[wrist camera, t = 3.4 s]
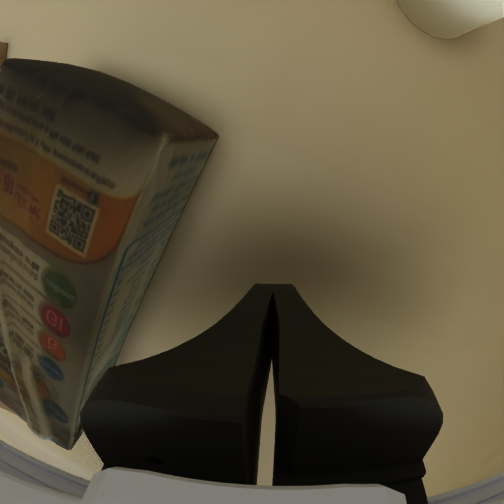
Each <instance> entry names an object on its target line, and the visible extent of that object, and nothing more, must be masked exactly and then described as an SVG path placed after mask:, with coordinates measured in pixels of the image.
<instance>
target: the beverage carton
mask: <svg viewBox="0 0 504 504" xmlns="http://www.w3.org/2000/svg"><path fill="white" fill-rule="evenodd" d="M217 139H218V135H217V134H216V133H215V132H214V131H212V130H211V129H210V128H208V127H207V126H205V125H204V124H202V123H201V122H199V121H197V120H196V119H194V118H193V117H191V116H189V115H188V114H186V113H184V112H183V111H181V110H179V109H178V108H176V107H174V106H172V105H170V104H169V103H167V102H165V101H163V100H161V99H159V98H157V97H155V96H154V95H152V94H150V93H148V92H146V91H144V90H142V89H140V88H138V87H136V86H134V85H132V84H129V83H127V82H125V81H122V80H120V79H117V78H115V77H112V76H110V75H107V74H104V73H102V72H99V71H95V70H91V69H87V68H83V67H79V66H75V65H70V64H64V63H57V62H49V61H40V60H30V59H17V58H12V59H7V60H5V61H4V62H3V63H2V66H1V71H0V401H1V402H2V403H3V404H4V405H5V406H7V407H8V408H9V409H10V410H12V411H13V412H14V413H15V414H17V415H18V416H19V417H20V418H21V419H23V420H24V421H25V422H26V423H27V424H28V427H29V428H30V430H31V431H32V432H33V433H34V434H35V435H36V436H38V437H39V438H41V439H44V440H52V441H53V442H54V443H56V444H57V445H59V446H61V447H63V448H65V449H67V450H71V449H72V448H73V446H74V445H75V443H76V442H77V440H78V439H79V437H80V436H81V434H82V433H83V431H84V430H83V427H82V425H81V423H80V412H81V410H82V408H83V406H84V404H85V403H86V401H87V400H88V398H89V396H90V395H91V393H92V391H93V390H94V388H95V387H96V385H97V384H98V382H99V380H100V379H101V378H102V376H103V375H104V373H105V372H106V371H107V369H108V368H109V367H114V365H115V363H116V360H117V358H118V355H119V353H120V350H121V348H122V345H123V342H124V340H125V337H126V335H127V332H128V330H129V327H130V325H131V323H132V320H133V318H134V315H135V313H136V311H137V309H138V307H139V305H140V302H141V300H142V297H143V295H144V293H145V291H146V288H147V286H148V284H149V281H150V279H151V277H152V275H153V272H154V270H155V268H156V266H157V264H158V262H159V260H160V257H161V255H162V253H163V251H164V248H165V246H166V244H167V242H168V239H169V237H170V235H171V233H172V231H173V229H174V227H175V225H176V223H177V220H178V218H179V216H180V214H181V212H182V210H183V208H184V206H185V204H186V202H187V199H188V197H189V195H190V193H191V191H192V189H193V186H194V184H195V182H196V179H197V177H198V176H199V174H200V172H201V171H202V169H203V167H204V164H205V162H206V159H207V157H208V154H209V152H210V150H211V148H212V147H213V145H214V143H215V142H216V140H217Z"/></svg>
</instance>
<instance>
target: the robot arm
mask: <svg viewBox="0 0 504 504" xmlns="http://www.w3.org/2000/svg"><path fill="white" fill-rule="evenodd" d="M271 361H272V366H273V380H274V394H275V408H276V426H275V447H274V466H273V483H272V486H261V485H257V473H258V460H259V447H260V433H261V420H262V412H263V406H264V400H265V395H266V389H267V384H268V378H269V372H270V367H271ZM80 423H81V425H82V427H83V430H84V432H85V434H86V436H87V438H88V440H89V441H90V443H91V444H92V446H93V448H94V449H95V451H96V452H97V454H98V456H99V457H100V459H101V460H102V462H103V463H104V465H103V468H102V470H101V471H100V472H98V473H96V474H94V475H93V477H92V479H91V481H88V480H86V479H83V478H80V477H78V476H75V475H72V474H70V473H67V472H65V471H63V470H60V469H58V468H55V467H53V466H51V465H49V464H46V463H44V462H42V461H40V460H38V459H36V458H34V457H32V456H30V455H28V454H26V453H24V452H22V451H20V450H18V449H16V448H14V447H12V446H10V445H8V444H7V443H5V442H3V441H1V440H0V504H504V472H501V473H499V474H497V475H494V476H492V477H489V478H487V479H484V480H481V481H479V482H476V483H473V484H470V485H467V486H464V487H461V488H458V489H455V490H452V491H449V492H445V493H442V494H438V495H435V496H431V497H427V496H426V492H425V489H424V485H423V481H422V477H424V475H425V474H426V469H425V466H424V463H423V458H424V456H425V455H426V453H427V451H428V450H429V448H430V447H431V445H432V443H433V442H434V440H435V439H436V437H437V435H438V434H439V431H440V429H441V426H442V424H443V413H442V410H441V408H440V406H439V404H438V401H437V399H436V397H435V395H434V392H433V390H432V389H431V387H430V385H429V384H428V382H427V380H426V379H425V377H424V376H421V375H418V374H415V373H412V372H409V371H405V370H402V369H399V368H396V367H394V366H391V365H389V364H386V363H384V362H382V361H380V360H378V359H375V358H373V357H371V356H369V355H367V354H366V353H364V352H362V351H360V350H359V349H357V348H355V347H354V346H352V345H350V344H349V343H347V342H346V341H344V340H343V339H342V338H340V337H339V336H338V335H337V334H335V333H334V332H333V331H331V330H330V329H329V328H328V327H327V326H326V325H325V324H324V323H323V322H322V321H321V320H320V319H319V318H318V317H317V316H316V315H315V314H314V313H313V312H312V310H311V309H310V308H309V307H308V306H307V304H306V303H305V302H304V300H303V299H302V298H301V296H300V295H299V293H298V292H297V290H296V288H295V287H294V286H293V285H292V284H255V285H254V286H253V287H252V288H251V289H250V290H249V291H248V293H247V294H246V295H245V296H244V297H243V298H242V299H241V301H240V302H239V303H238V304H237V305H236V306H235V307H234V308H233V309H232V310H231V311H230V312H229V313H228V314H226V315H225V316H224V317H223V318H222V319H221V320H220V321H218V322H217V323H216V324H215V325H213V326H212V327H210V328H209V329H207V330H206V331H204V332H203V333H201V334H200V335H198V336H196V337H194V338H193V339H191V340H189V341H187V342H185V343H183V344H181V345H179V346H177V347H175V348H173V349H170V350H168V351H165V352H163V353H160V354H158V355H155V356H152V357H149V358H146V359H143V360H139V361H135V362H131V363H127V364H123V365H119V366H115V367H109V368H108V369H107V371H106V372H105V373H104V375H103V376H102V378H101V379H100V380H99V382H98V384H97V385H96V387H95V388H94V390H93V391H92V393H91V395H90V396H89V398H88V400H87V401H86V403H85V404H84V406H83V408H82V410H81V412H80Z"/></svg>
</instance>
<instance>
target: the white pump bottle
mask: <svg viewBox="0 0 504 504" xmlns="http://www.w3.org/2000/svg"><path fill="white" fill-rule="evenodd" d="M397 2H398V4H399V6H400V8H401V10H402V11H403V13H404V14H405V15H406V17H407V18H408V19H409V20H410V21H411V22H412V23H413V24H414V25H415V26H417V27H418V28H419V29H421V30H422V31H424V32H425V33H427V34H429V35H431V36H433V37H437V38H440V39H454V38H457V37H459V36H461V35H463V34H465V33H468V32H470V31H472V30H474V29H477V28H479V27H481V26H484V25H486V24H488V23H491V22H493V21H496V20H498V19H501V18H503V17H504V0H397Z"/></svg>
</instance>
